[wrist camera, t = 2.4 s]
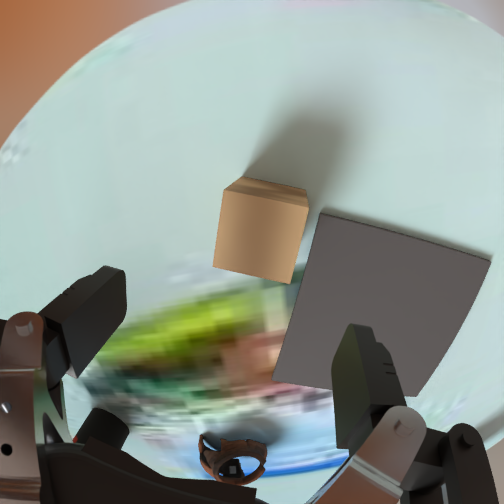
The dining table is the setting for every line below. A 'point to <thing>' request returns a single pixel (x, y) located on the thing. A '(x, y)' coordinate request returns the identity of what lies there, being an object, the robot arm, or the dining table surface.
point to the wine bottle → (102, 429)
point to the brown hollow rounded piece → (232, 460)
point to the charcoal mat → (377, 301)
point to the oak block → (260, 229)
